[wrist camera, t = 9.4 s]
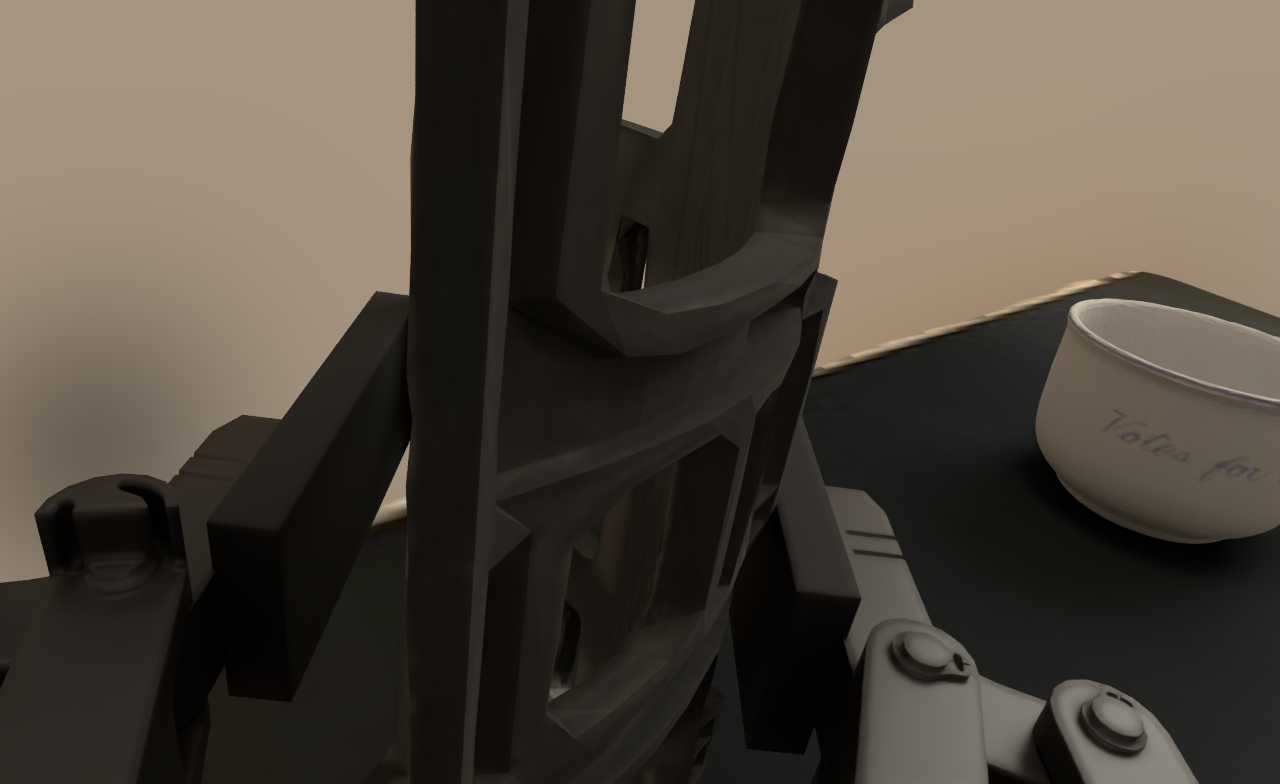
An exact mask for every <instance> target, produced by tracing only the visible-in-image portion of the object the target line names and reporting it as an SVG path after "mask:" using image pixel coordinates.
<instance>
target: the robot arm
mask: <svg viewBox="0 0 1280 784" xmlns="http://www.w3.org/2000/svg"><path fill="white" fill-rule="evenodd" d="M408 318H409V296H408V295H400V294H393V293H386V292H378V291H376V292H375V293H374V295H373V296H372V297H371V299H370V300H369V301H368V303H367V304H366V306H365V307H364V308H363V310H362V311H361V312H360V314H359V315H358V316H357V318H356V319H355V320H354V322H353V323H352V325H351V326H350V327H349V329H348V330H347V331H346V333H345V334H344V336H343V337H342V338H341V340H340V341H339V342H338V344H337V345H336V346H335V348H334V349H333V350H332V352H331V353H330V355H329V356H328V357H327V359H326V360H325V361H324V363H323V364H322V365H321V367H320V368H319V370H318V371H317V372H316V374H315V375H314V376H313V378H312V379H311V380H310V382H309V383H308V384H307V386H306V387H305V389H304V390H303V391H302V393H301V394H300V395H299V397H298V398H297V399H296V401H295V402H294V404H293V405H292V406H291V408H290V409H289V410H288V412H287V413H286V414H285V416H284V417H283V418H282V420H280V419H272V418H264V417H256V416H248V415H241V416H240V417H238V418H236V419H234V420H232V421H231V422H229V423H227V424H225V425H223V426H221V427H220V428H218V429H216V430H214V431H213V432H212V433H211V434H210V435H209V436H208V437H207V439H206V440H205V441H204V442H203V443H202V444H201V446H200V447H199V448H198V449H197V450H196V451H195V453H194V457H190V458H189V460H188V461H187V462H186V463H185V464H184V465H183V467H182V468H181V469H180V470H179V475H175V476H174V477H173V478H172V480H171V481H170V482H169V483H167V482H165V481H162V480H159V479H156V478H154V477H151V476H148V475H135V474H117V475H109V476H102V477H95V478H92V479H89V480H86V481H83V482H80V483H77V484H74V485H71V486H68V487H67V488H65V489H63V490H61V491H60V492H58V493H56V494H55V495H53V496H52V497H50V498H48V499H47V500H46V501H45V502H44V503H43V505H42V506H41V507H40V508H39V509H38V510H37V512H36V513H35V514H34V515H35V519H36V523H37V527H38V531H39V535H40V539H41V543H42V547H43V551H44V554H45V558H46V562H47V566H48V570H49V574H50V576H49V577H43V578H37V579H31V580H23V581H14V582H5V583H0V784H201V778H202V771H203V765H204V759H205V753H206V747H207V741H208V735H209V729H210V723H211V720H210V711H209V703H208V694H209V692H210V690H211V689H212V687H213V685H214V683H215V682H216V680H217V678H218V676H219V675H220V673H221V671H222V669H223V667H224V666H225V669H226V677H227V685H228V692H229V696H236V697H246V698H256V699H266V700H275V701H285V702H292V699H293V697H294V695H295V693H296V691H297V688H298V686H299V684H300V682H301V680H302V677H303V675H304V673H305V671H306V669H307V666H308V664H309V662H310V660H311V658H312V655H313V653H314V651H315V649H316V646H317V644H318V642H319V640H320V638H321V635H322V633H323V631H324V629H325V627H326V624H327V622H328V620H329V618H330V616H331V613H332V611H333V609H334V607H335V605H336V602H337V600H338V598H339V596H340V594H341V591H342V589H343V587H344V585H345V583H346V580H347V578H348V576H349V574H350V572H351V569H352V567H353V565H354V563H355V561H356V558H357V556H358V554H359V552H360V549H361V547H362V545H363V543H364V541H365V538H366V536H367V534H368V532H369V530H370V527H371V525H372V523H373V521H374V519H375V516H376V514H377V512H378V510H379V508H380V505H381V503H382V501H383V499H384V497H385V494H386V492H387V490H388V488H389V486H390V483H391V481H392V479H393V477H394V474H395V472H396V470H397V468H398V466H399V464H400V461H401V459H402V457H403V455H404V452H405V450H406V448H407V446H408V444H409V441H410V439H411V429H412V413H411V406H410V399H409V392H408V384H407V377H406V371H407V344H408ZM729 614H730V622H731V630H732V638H733V646H734V654H735V662H736V669H737V677H738V685H739V693H740V701H741V709H742V716H743V724H744V732H745V740H746V748H747V749H754V750H763V751H773V752H783V753H793V754H802V755H804V752H805V750H806V747H807V744H808V742H809V739H810V736H811V734H812V731H813V728H814V726H815V729H816V734H817V738H818V743H819V747H820V752H821V760H820V762H819V765H818V767H817V770H816V772H815V775H814V778H813V780H812V783H811V784H1199V783H1198V782H1197V780H1196V778H1195V777H1194V775H1193V773H1192V772H1191V770H1190V768H1189V767H1188V765H1187V763H1186V762H1185V760H1184V758H1183V757H1182V755H1181V753H1180V752H1179V750H1178V748H1177V747H1176V745H1175V743H1174V742H1173V740H1172V738H1171V737H1170V735H1169V734H1168V732H1167V731H1166V730H1165V729H1164V727H1163V726H1162V725H1161V724H1160V722H1159V721H1158V720H1157V719H1156V717H1155V716H1154V715H1153V714H1152V713H1150V712H1149V711H1148V710H1147V709H1145V708H1144V707H1143V706H1142V705H1140V704H1139V703H1138V702H1137V701H1136V700H1134V699H1133V698H1131V697H1129V696H1127V695H1126V694H1124V693H1122V692H1120V691H1118V690H1116V689H1114V688H1112V687H1111V686H1108V685H1104V684H1101V683H1097V682H1094V681H1090V680H1067V681H1065V682H1063V683H1061V684H1059V685H1058V686H1056V687H1055V688H1054V690H1053V692H1052V693H1051V695H1050V697H1049V699H1048V701H1044V700H1041V699H1039V698H1036V697H1033V696H1030V695H1028V694H1025V693H1022V692H1019V691H1017V690H1014V689H1011V688H1008V687H1005V686H1003V685H1000V684H998V683H995V682H993V681H991V680H989V679H986V678H984V677H982V676H980V675H979V674H978V671H977V668H976V665H975V662H974V660H973V659H972V657H971V656H970V655H969V654H968V652H967V651H966V650H965V649H964V647H963V646H962V645H961V644H960V643H959V642H957V641H956V640H955V639H953V638H952V637H951V636H949V635H948V634H947V633H945V632H944V631H943V630H940V629H938V628H936V627H934V626H932V624H931V621H930V619H929V616H928V614H927V612H926V609H925V607H924V604H923V602H922V600H921V597H920V595H919V592H918V590H917V588H916V585H915V583H914V580H913V578H912V576H911V573H910V571H909V568H908V566H907V564H906V561H905V560H903V554H902V552H901V549H900V547H899V545H898V542H897V541H896V540H895V535H894V533H893V530H892V528H891V525H890V523H889V521H888V518H887V516H886V513H885V512H884V511H883V510H882V509H881V508H880V507H879V506H878V505H877V504H876V503H875V502H874V501H873V500H872V499H871V498H870V497H869V496H868V494H867V493H866V492H865V491H862V490H854V489H846V488H838V487H830V486H825V485H824V482H823V479H822V476H821V473H820V470H819V467H818V464H817V461H816V458H815V455H814V452H813V449H812V446H811V442H810V439H809V436H808V433H807V430H806V427H805V424H804V421H803V418H802V415H801V419H800V422H799V426H798V430H797V433H796V437H795V440H794V444H793V447H792V451H791V455H790V458H789V462H788V465H787V469H786V472H785V476H784V479H783V483H782V486H781V490H780V493H779V497H778V501H777V504H776V508H775V511H774V515H773V518H772V522H771V525H770V527H769V529H768V530H767V532H766V533H765V535H764V536H763V538H762V539H761V541H760V542H759V543H758V545H757V546H756V547H755V549H754V550H753V551H752V552H751V554H750V555H749V556H748V558H747V559H746V560H745V562H744V563H743V564H742V566H741V567H740V570H739V572H738V575H737V577H736V580H735V583H734V589H733V594H732V600H731V606H730V611H729Z"/></svg>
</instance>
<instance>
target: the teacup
mask: <svg viewBox="0 0 1280 784" xmlns="http://www.w3.org/2000/svg"><path fill="white" fill-rule="evenodd" d="M1036 436H1037V441H1038V444H1039V447H1040V449H1041V451H1042V453H1043V455H1044V457H1045V458H1046V460H1047V462H1048V463H1049V464H1050V466H1051V467H1052V468H1053V469H1054V470H1055V471H1056V474H1057V477H1058V479H1059V480H1060V482H1061V483H1062V484H1063V486H1064V487H1065V488H1066V490H1067V491H1068V492H1069V493H1070V494H1071V495H1073V496H1074V497H1075V498H1076V499H1077V500H1078V501H1079V502H1080V503H1082V504H1083V505H1085V506H1086V507H1087V508H1089V509H1090V510H1092V511H1094V512H1095V513H1097V514H1098V515H1100V516H1102V517H1104V518H1106V519H1107V520H1109V521H1112V522H1114V523H1116V524H1118V525H1120V526H1123V527H1125V528H1128V529H1130V530H1133V531H1135V532H1138V533H1141V534H1144V535H1147V536H1151V537H1155V538H1158V539H1162V540H1167V541H1172V542H1178V543H1189V544H1203V543H1213V542H1217V541H1220V540H1223V539H1235V538H1243V537H1249V536H1254V535H1258V534H1261V533H1264V532H1267V531H1269V530H1271V529H1273V528H1275V527H1277V526H1278V525H1280V338H1278V337H1275V336H1272V335H1269V334H1266V333H1264V332H1261V331H1258V330H1255V329H1253V328H1250V327H1247V326H1243V325H1240V324H1237V323H1234V322H1227V321H1225V320H1222V319H1219V318H1215V317H1212V316H1209V315H1206V314H1201V313H1196V312H1191V311H1187V310H1182V309H1178V308H1173V307H1168V306H1164V305H1159V304H1153V303H1147V302H1141V301H1131V300H1120V299H1099V300H1096V299H1095V300H1086V301H1081V302H1079V303H1076V304H1075V305H1074V306H1072V307H1071V308H1070V311H1069V314H1068V325H1067V328H1066V331H1065V333H1064V336H1063V338H1062V341H1061V343H1060V346H1059V349H1058V351H1057V354H1056V356H1055V359H1054V361H1053V364H1052V367H1051V370H1050V373H1049V375H1048V378H1047V381H1046V384H1045V387H1044V390H1043V393H1042V396H1041V399H1040V402H1039V407H1038V411H1037V416H1036Z"/></svg>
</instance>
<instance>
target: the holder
mask: <svg viewBox="0 0 1280 784" xmlns="http://www.w3.org/2000/svg"><path fill="white" fill-rule="evenodd" d="M635 4H636V0H416V60H415V61H416V62H415V63H416V64H415V65H416V67H415V68H416V69H415V75H416V76H415V78H416V79H415V81H416V82H415V83H416V84H415V87H416V88H415V107H414V119H413V133H412V144H411V266H410V292H409V318H408V344H407V371H406V377H407V384H408V392H409V399H410V406H411V413H412V429H411V439H410V450H409V460H408V471H407V480H406V503H407V543H406V560H405V577H404V588H403V597H402V610H401V625H400V640H399V654H398V669H397V691H396V709H395V721H394V732H393V740H392V742H391V744H390V747H389V749H388V751H387V753H386V754H385V755H384V756H383V758H382V759H381V760H380V761H379V763H378V764H377V765H376V766H375V768H374V769H373V770H372V771H371V773H370V774H369V775H368V776H367V777H366V778H365V779H364V780H363V781H362V782H361V783H360V784H696V783H697V782H698V780H699V779H700V777H701V776H702V774H703V770H704V767H705V764H706V760H707V757H708V754H709V750H710V747H711V744H712V741H713V737H714V734H715V731H716V727H717V724H718V721H719V718H720V714H721V711H722V708H723V704H724V701H725V698H726V697H725V696H724V695H723V694H722V693H721V691H720V690H719V689H718V688H717V687H716V686H710V685H711V682H712V679H713V675H714V670H715V665H716V660H717V655H718V650H719V647H720V644H721V641H722V637H723V634H724V631H725V628H726V625H727V621H728V617H729V611H730V606H731V600H732V594H733V589H734V583H735V580H736V577H737V575H738V572H739V570H740V567H741V566H742V564H743V563H744V562H745V560H746V559H747V558H748V556H749V555H750V554H751V552H752V551H753V550H754V549H755V547H756V546H757V545H758V543H759V542H760V541H761V539H762V538H763V536H764V535H765V533H766V532H767V530H768V529H769V527H770V525H771V522H772V518H773V515H774V511H775V508H776V504H777V501H778V497H779V493H780V490H781V486H782V483H783V479H784V476H785V472H786V469H787V465H788V462H789V458H790V455H791V451H792V447H793V444H794V440H795V437H796V433H797V430H798V426H799V422H800V419H801V415H802V411H803V408H804V404H805V400H806V397H807V393H808V389H809V386H810V382H811V378H812V374H813V371H814V367H815V363H816V360H817V356H818V352H819V348H820V345H821V341H822V338H823V334H824V330H825V326H826V323H827V319H828V315H829V311H830V308H831V304H832V301H833V297H834V293H835V289H836V286H837V282H838V280H836V279H833V278H832V277H829V276H827V275H825V274H821V273H818V272H817V269H818V268H819V262H820V255H821V249H822V243H823V238H824V233H825V229H826V224H827V219H828V215H829V210H830V206H831V202H832V197H833V192H834V188H835V184H836V181H837V177H838V174H839V170H840V167H841V164H842V160H843V157H844V153H845V150H846V146H847V143H848V140H849V136H850V133H851V129H852V126H853V122H854V118H855V114H856V110H857V106H858V102H859V98H860V94H861V90H862V86H863V82H864V78H865V74H866V70H867V66H868V63H869V58H870V54H871V50H872V47H873V43H874V39H875V35H876V33H877V32H878V31H879V30H880V29H881V28H882V27H883V26H884V25H885V24H887V23H888V22H890V21H891V20H893V19H895V18H896V17H898V16H899V15H901V14H903V13H904V12H906V11H907V10H909V9H911V8H912V7H913V0H695V5H694V10H693V16H692V21H691V26H690V31H689V37H688V43H687V48H686V54H685V60H684V65H683V70H682V75H681V81H680V86H679V92H678V96H677V102H676V107H675V112H674V117H673V122H672V124H671V125H670V127H669V128H668V129H667V130H666V131H665V132H664V133H662V132H659V131H656V130H653V129H650V128H647V127H644V126H641V125H638V124H635V123H632V122H629V121H626V120H623V119H622V112H623V103H624V95H625V87H626V78H627V70H628V62H629V54H630V45H631V37H632V29H633V21H634V12H635ZM646 258H647V259H646ZM645 263H646V271H645V282H644V288H643V289H641V286H642V280H643V274H644V268H645ZM602 516H603V519H602V524H601V530H600V536H599V538H598V537H597V536H596V535H594V534H592V533H591V532H589V531H587V530H589V529H590V528H591V527H592V526H593V525H594V524H595V523H596V522H597V521H598V520H599V519H600V518H601V517H602ZM581 625H582V626H583V632H582V638H581V644H580V650H579V656H578V662H577V667H576V673H575V677H574V675H573V673H572V671H573V666H574V661H575V656H576V651H577V645H578V640H579V635H580V630H581Z"/></svg>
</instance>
